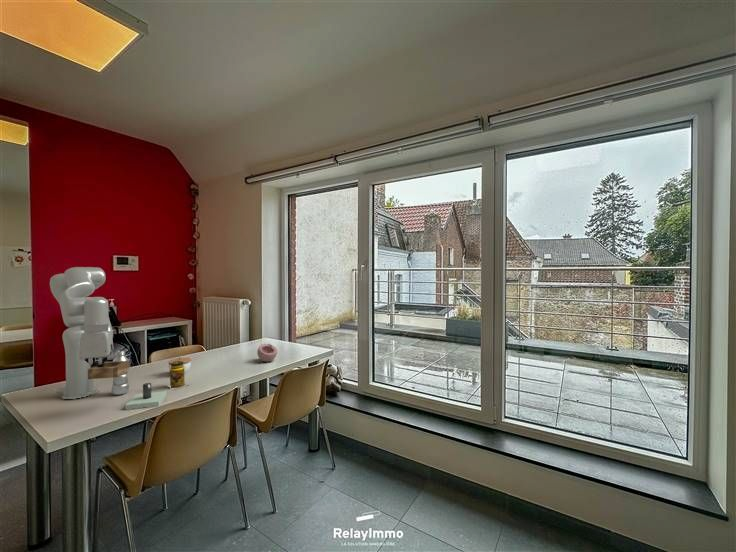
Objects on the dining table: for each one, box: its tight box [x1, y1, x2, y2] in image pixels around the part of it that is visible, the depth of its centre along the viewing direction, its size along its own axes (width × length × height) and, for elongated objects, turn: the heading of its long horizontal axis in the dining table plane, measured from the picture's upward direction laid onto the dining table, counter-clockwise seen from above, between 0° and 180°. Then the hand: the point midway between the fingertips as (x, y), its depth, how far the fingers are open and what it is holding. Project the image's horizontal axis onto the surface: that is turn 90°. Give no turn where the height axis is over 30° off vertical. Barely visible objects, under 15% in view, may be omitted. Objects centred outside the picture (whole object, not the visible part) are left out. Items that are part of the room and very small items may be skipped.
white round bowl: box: [168, 356, 192, 376], centre depth 174 cm, size 11×11×9 cm
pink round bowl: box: [257, 343, 278, 363], centre depth 199 cm, size 12×12×11 cm
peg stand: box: [124, 382, 168, 410], centre depth 137 cm, size 12×12×8 cm
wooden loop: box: [88, 360, 130, 380], centre depth 130 cm, size 10×10×4 cm
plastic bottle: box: [111, 349, 130, 396], centre depth 146 cm, size 6×7×20 cm
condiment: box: [166, 361, 189, 391], centre depth 157 cm, size 7×8×12 cm
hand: (97, 373), depth 129 cm, fingers closed on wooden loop, 1 cm apart
